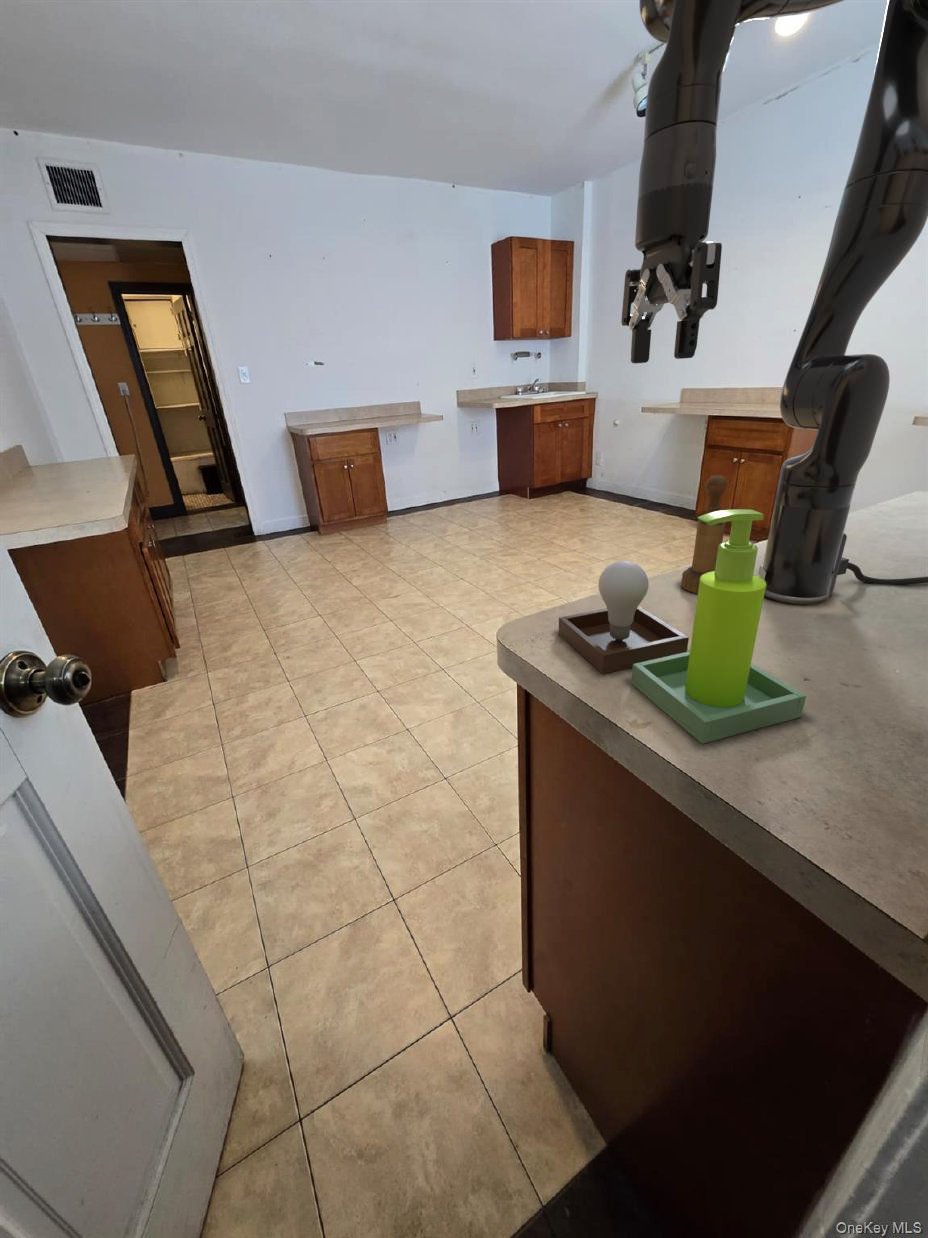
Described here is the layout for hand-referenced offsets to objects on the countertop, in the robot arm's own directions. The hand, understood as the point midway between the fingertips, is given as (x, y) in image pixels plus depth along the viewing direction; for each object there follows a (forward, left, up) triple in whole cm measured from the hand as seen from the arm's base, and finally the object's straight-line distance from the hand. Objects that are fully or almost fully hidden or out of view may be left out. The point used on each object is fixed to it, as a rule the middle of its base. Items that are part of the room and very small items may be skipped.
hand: (660, 360), depth 62 cm
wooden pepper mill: (-16, -6, -34) cm, 38 cm away
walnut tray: (+7, +6, -34) cm, 35 cm away
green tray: (+5, +21, -34) cm, 40 cm away
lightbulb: (+7, +6, -34) cm, 35 cm away
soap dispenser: (+5, +21, -34) cm, 40 cm away
